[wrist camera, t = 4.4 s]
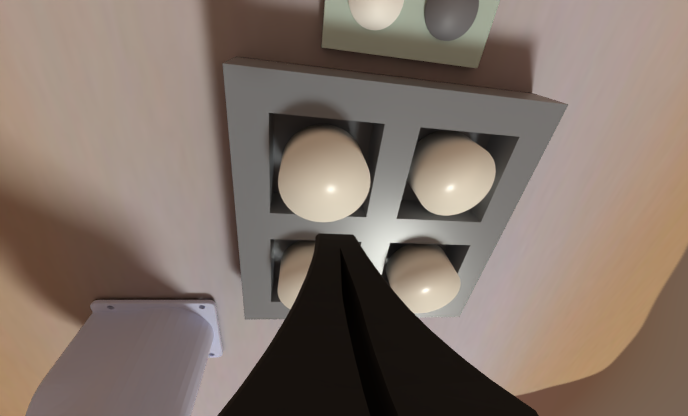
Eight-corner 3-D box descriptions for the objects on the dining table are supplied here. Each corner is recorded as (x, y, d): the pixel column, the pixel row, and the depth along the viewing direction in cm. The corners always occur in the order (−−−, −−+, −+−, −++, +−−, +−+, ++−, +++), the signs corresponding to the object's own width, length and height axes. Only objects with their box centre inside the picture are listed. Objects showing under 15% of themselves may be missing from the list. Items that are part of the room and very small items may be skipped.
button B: (281, 196, 18) (277, 220, 16) (282, 120, 16) (278, 135, 14) (356, 200, 19) (362, 224, 17) (368, 128, 16) (377, 144, 14)
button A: (398, 193, 21) (408, 214, 18) (415, 126, 18) (429, 140, 16) (460, 197, 21) (478, 217, 19) (485, 133, 19) (508, 147, 17)
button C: (380, 286, 24) (387, 313, 21) (393, 240, 21) (402, 265, 19) (435, 287, 24) (448, 313, 22) (454, 242, 22) (470, 266, 20)
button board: (251, 289, 25) (244, 319, 23) (236, 56, 16) (222, 63, 13) (445, 290, 28) (459, 316, 25) (532, 93, 18) (568, 104, 16)
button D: (280, 286, 22) (277, 314, 20) (280, 237, 20) (277, 263, 18) (341, 286, 23) (345, 314, 21) (349, 239, 21) (354, 264, 18)
